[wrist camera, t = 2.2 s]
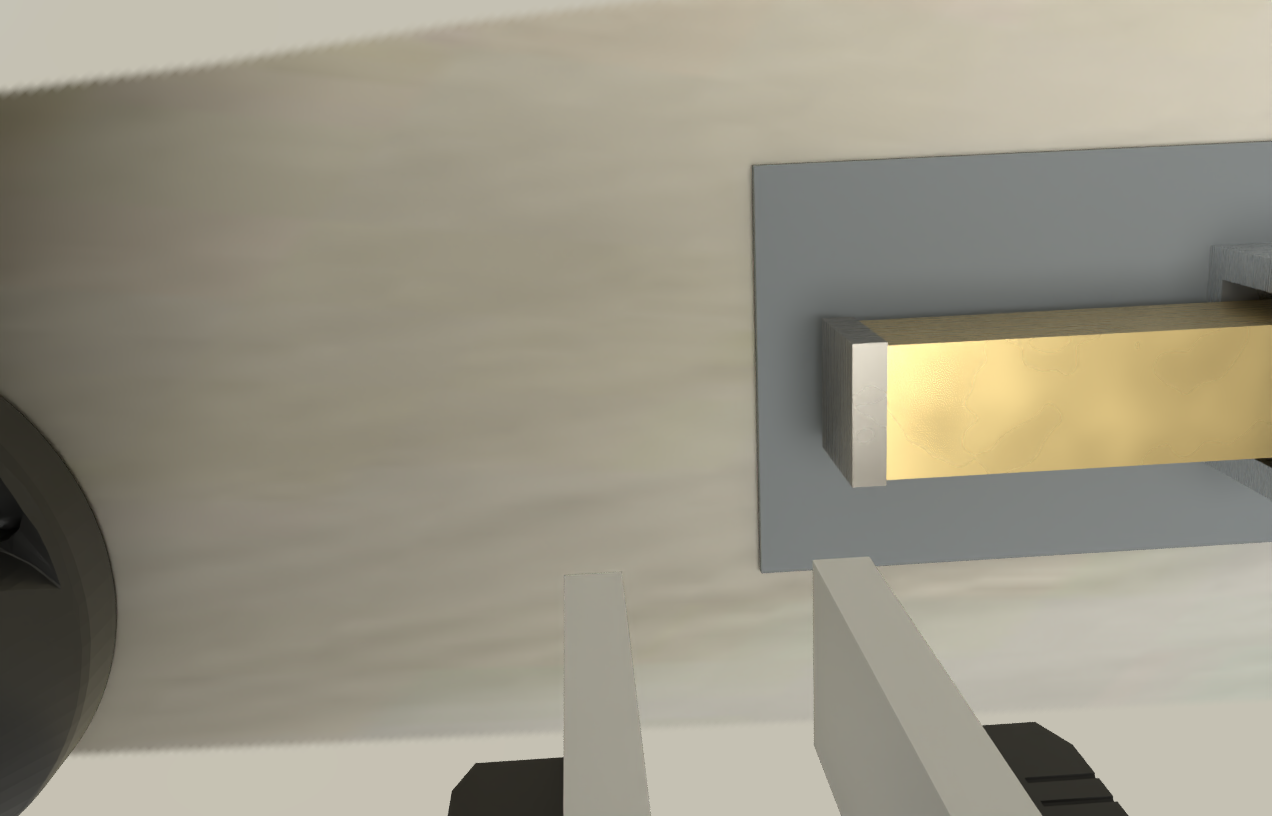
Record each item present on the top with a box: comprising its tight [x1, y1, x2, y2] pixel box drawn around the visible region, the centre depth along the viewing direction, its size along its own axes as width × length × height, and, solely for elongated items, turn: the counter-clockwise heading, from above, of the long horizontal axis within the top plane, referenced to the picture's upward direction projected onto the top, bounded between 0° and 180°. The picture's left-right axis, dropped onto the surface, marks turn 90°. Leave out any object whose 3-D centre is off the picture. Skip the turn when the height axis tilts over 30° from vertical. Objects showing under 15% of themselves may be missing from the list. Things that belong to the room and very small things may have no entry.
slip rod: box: [822, 299, 1272, 488], centre depth 30 cm, size 16×3×3 cm, turn 93°
